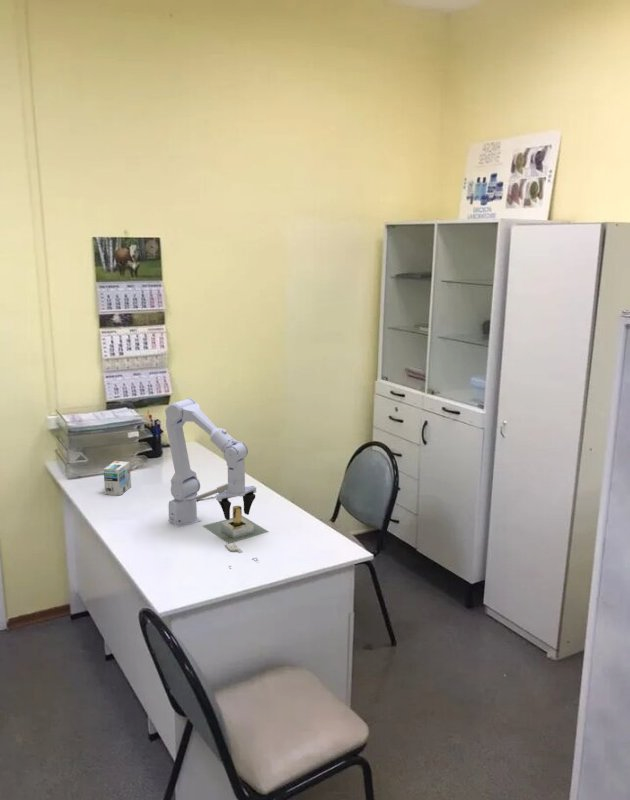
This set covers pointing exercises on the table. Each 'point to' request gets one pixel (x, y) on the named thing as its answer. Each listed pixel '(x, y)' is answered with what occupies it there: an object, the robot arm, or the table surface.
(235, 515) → the pin
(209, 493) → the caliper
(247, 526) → the silver square socket
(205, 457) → the table surface
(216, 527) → the mat
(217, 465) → the table surface
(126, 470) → the light bulb box
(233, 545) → the pliers
